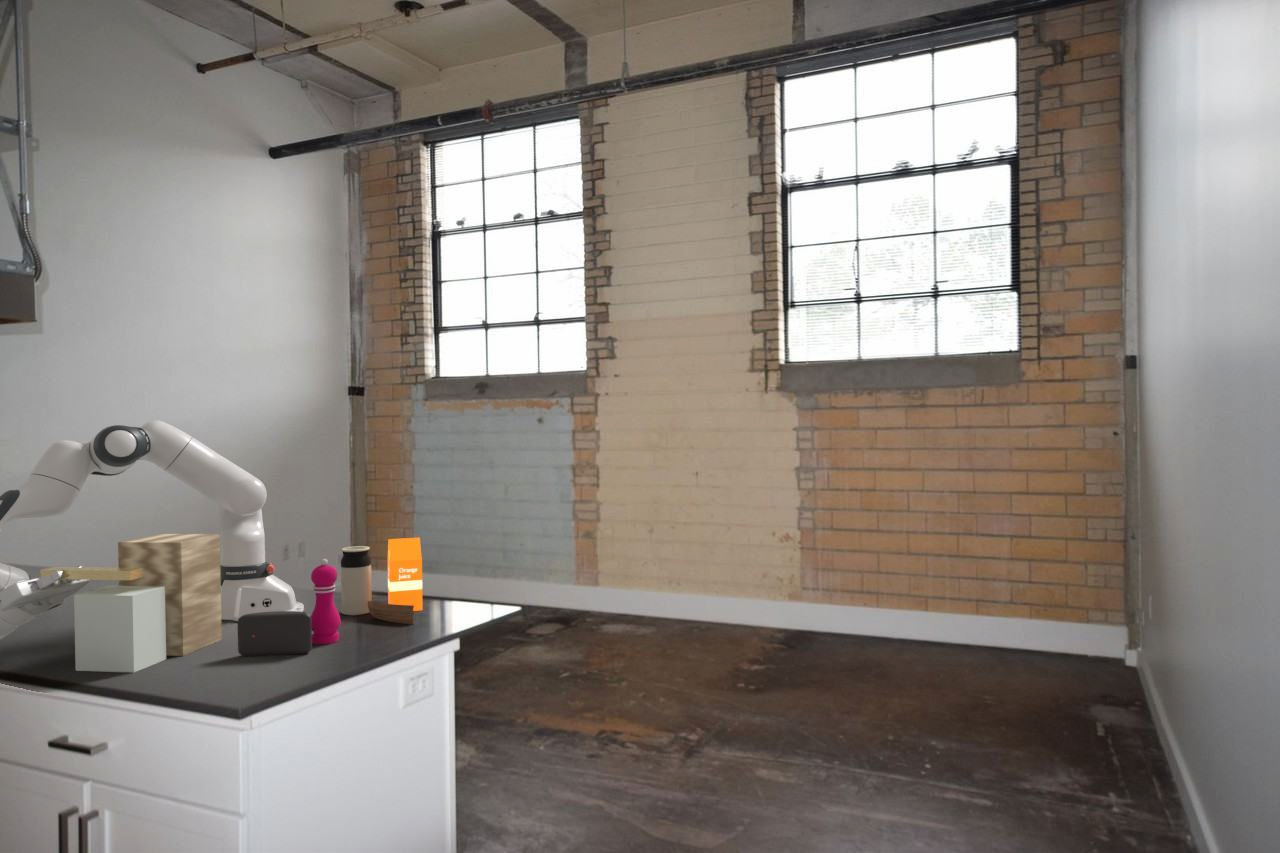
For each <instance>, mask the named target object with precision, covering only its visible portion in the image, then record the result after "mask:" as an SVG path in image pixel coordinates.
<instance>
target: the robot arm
mask: <svg viewBox="0 0 1280 853" xmlns="http://www.w3.org/2000/svg"><path fill="white" fill-rule="evenodd" d="M137 461H145V462H146V461H147V462H149V463H152V464H155V465H156V466H157V467H159V468H160V469H162V471H163V470H164V471H165V472H167V473H168V474H170V475H171V476H173V478H174V477H175V478H176V479H177V480H180V482H182V483H184V484H185V485H187V486H189V487H190V488H192V489H194V490H195V491H197V492H198V493H200V494H201V495H203V496H205V497H206V498H208V499H209V500H211V501H212V502H214V503H216V504H217V505H218V516H219V517H218V519H219V529H220V530H219V531H220V532H219V533H220V578H221V620H223V621H235V622H238V619H239V618H240V617H241V616H243V615H246V614H252V613H261V612H275V611H298V612H304V611H305V606H304V603H303V602H299V601H297V600H296V595H295V594H296V593H295V592H294V588H292V586H291V585H290V584H288V583H287V582H285V581H283V580H282V579H280V578H279V577H277V576H276V575H274V571H275V566H274V565H273V564H272V562H267V561H266V544H265V541H266V539H265V536H266V534H265V530H264V528H265V527H264V521H263V520H264V519H263V511H262V508H263V507H264V505H265V504H266V502H267V497H268V496H267V494H268V492H267V489H266V488H267V487H266V486H265V484H264V483H263V482H262V481H261V480H260V479H259V478H258V477H256V476H254V475H253V474H252V473H250V472H248V471H247V470H245V469H244V468H242V467H240V466H238V465H237V464H235V463H234V462H232V461H231V460H229V459H227V458H226V457H225V456H222V455H221V454H219V453H218V452H216V451H215V450H214V449H212V448H211V447H208V446H207V445H206V444H204V443H203V442H201V441H200V440H198V439H196V438H195V437H193V436H192V435H190V434H188V433H187V432H186V431H183V430H181V429H179V428H177V427H175V426H174V425H172V424H170V423H167V422H165V421H162V420H159V419H155V420H150V421H148V422H146V423H144V424H143V425H142V426H140V427H137V426H128V425H120V424H117V425H116V424H115V425H111V426H107V427H105V428H103V429H101V430H100V431H99V432H98V433H96V434H95V435H94V436H93V438H92V439H91V440H90V441H88V442H87V443H80V442H78V441H75V440H69V439H64V440H63V439H62V440H57V441H55V442H53V443H52V444H51V445H50V446H49V447H48V449H46V450H45V452H44V453H43V454H42V456H41V457H40V459H38V461H37V462H36V464H35V466H34V467H33V469H32V470H31V473H30V474H29V476H28V478H27V479H26V481H25V482H24V483H23V484H22V485H20V486H19V487H18V488H16V489H11V490H6V491H5V492H3V493H2V494H1V495H0V533H1V532H2V531H3V530H4V528H5V527H6V526H7V525H8V524H10V523H11V522H13V521H15V520H19V519H20V520H21V519H50V518H55V517H57V516H61V515H62V514H64V513H66V512H68V511H69V510H70V509H71V508H72V507H73V505H74V503H75V502H76V500H77V498H78V497H79V494H80V493H81V490H82V488H83V485H84V484H85V482H86V481H87V479H88V477H89V476H90V475H94V476H95V475H96V476H104V477H108V476H109V477H112V476H118V475H120V474H122V473H125V471H127V470H129V469H130V468H131V467H133V465H134V464H136V462H137ZM76 567H83V566H82V565H78V566H76ZM63 577H65V574H64V573H63V571H62V570H58V571H55V572H53V573H52V574H50V575H47V576H45V577H41V576H40V577H36V578H31V576H30V574H29V572H28V571H26V570H24V569H23V568H22V569H21V568H20V567H19V568H18V567H16V566H13V565H9V564H7V563H3V562H0V640H1V639H3V638H5V637H7V636H8V635H10V634H12V633H14V632H15V630H16V629H17V628H18V627H20V626H24V625H26V624H28V623H29V622H31V621H33V620H34V619H35V618H37V617H39V616H41V615H43V614H44V613H45V612H47V611H48V612H49V611H50V610H53V609H55V608H57V607H60V606H61V605H64V603H66V599H68V598H69V597H71V596H74V595H75V594H77V592H79V591H80V590H81V589H83V588H85V587H86V586H87V585H88V584H90V582H91V580H81V579H62V578H63Z"/></svg>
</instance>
